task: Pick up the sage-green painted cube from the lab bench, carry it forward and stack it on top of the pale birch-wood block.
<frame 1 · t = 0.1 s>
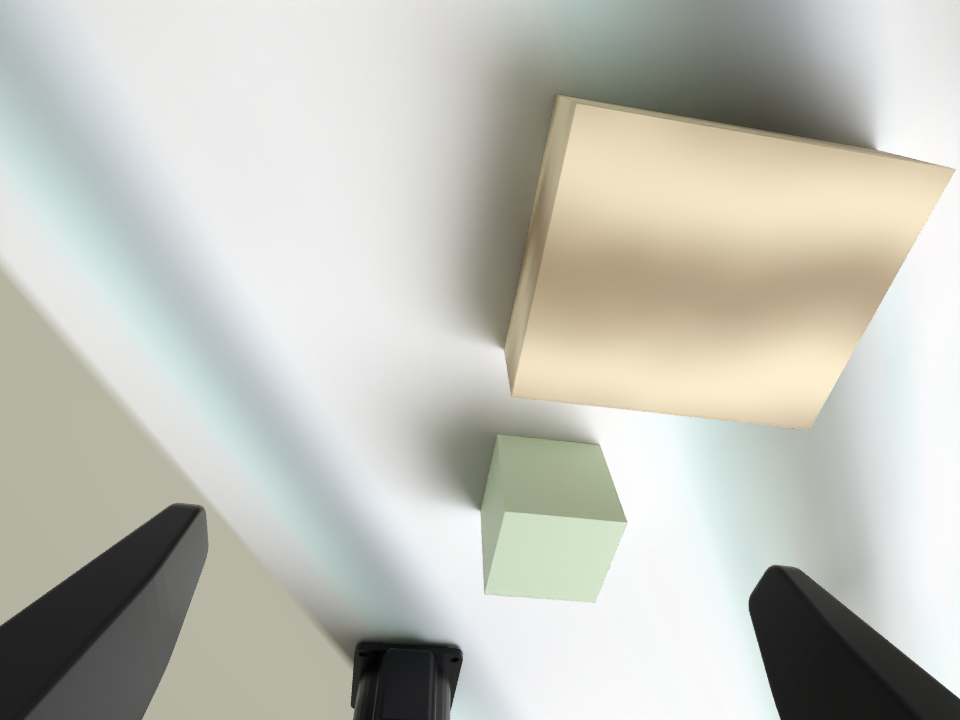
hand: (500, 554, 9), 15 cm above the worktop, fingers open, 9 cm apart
sage cube: (537, 478, 27), on the worktop
birch block: (671, 254, 22), on the worktop
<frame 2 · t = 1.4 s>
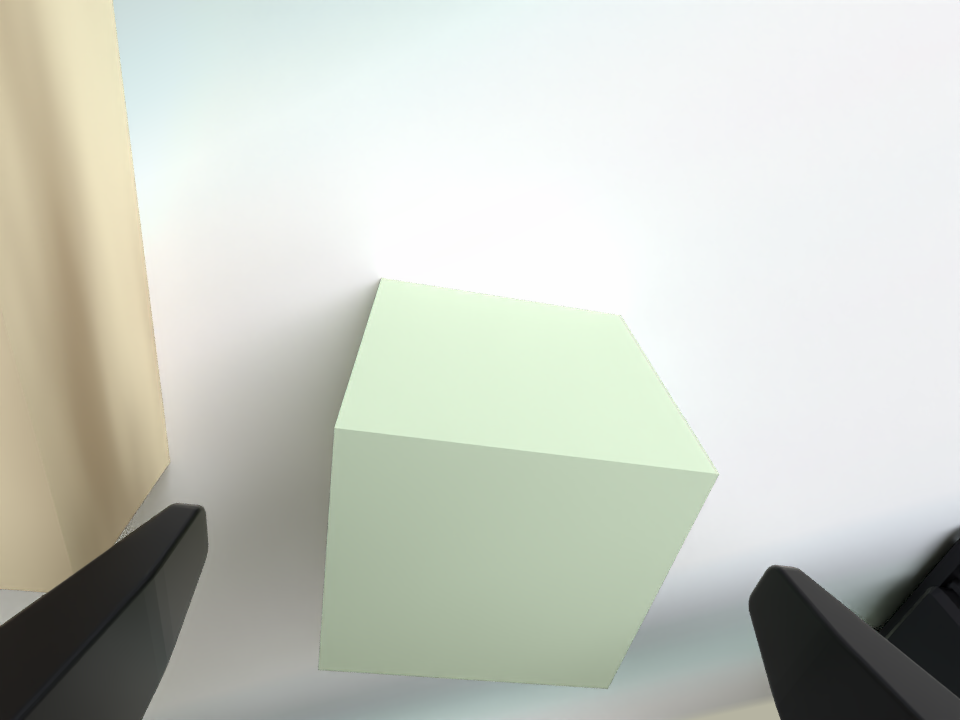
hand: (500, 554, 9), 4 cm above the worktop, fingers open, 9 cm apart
sage cube: (481, 396, 12), on the worktop
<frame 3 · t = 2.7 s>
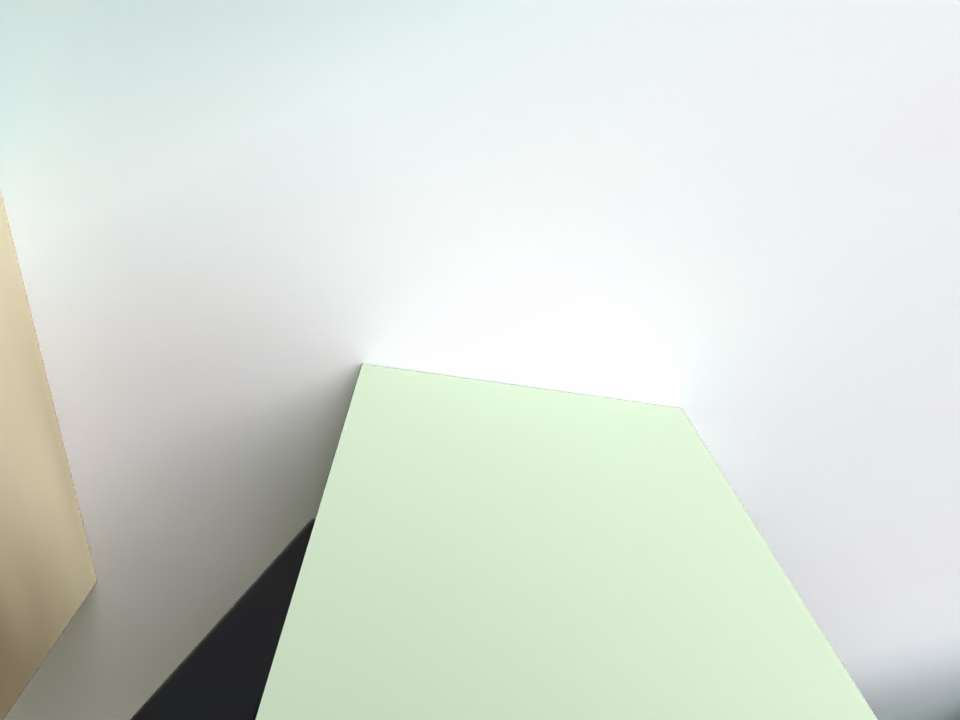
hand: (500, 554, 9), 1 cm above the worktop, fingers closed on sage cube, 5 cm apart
sage cube: (495, 506, 10), on the worktop, touching gripper
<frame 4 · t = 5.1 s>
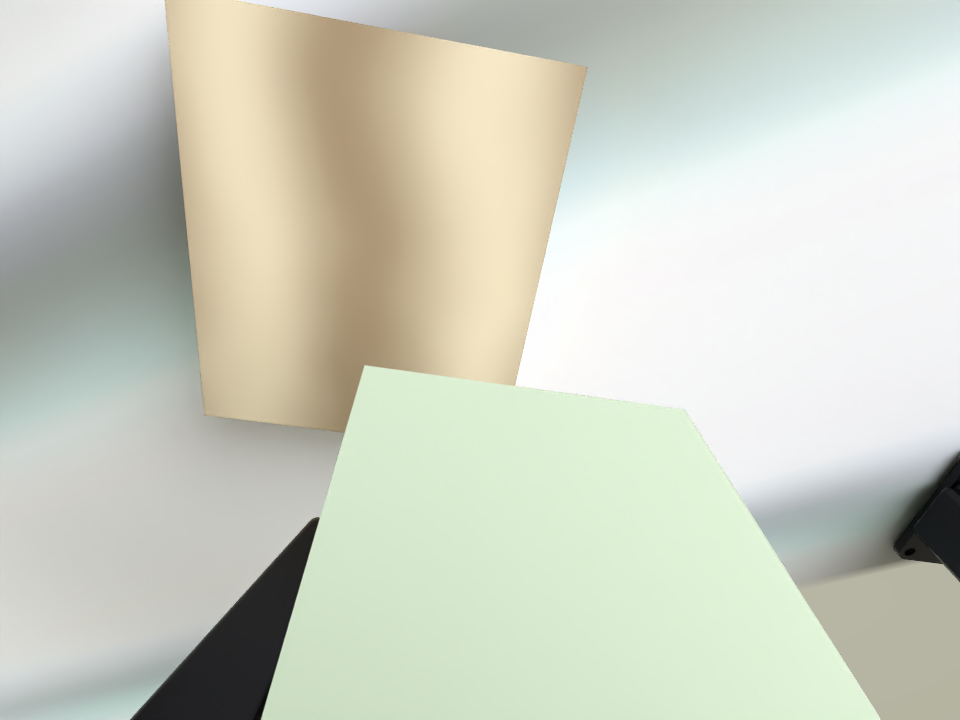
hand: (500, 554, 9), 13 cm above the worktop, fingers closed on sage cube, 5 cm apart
sage cube: (497, 508, 9), point 12 cm above the worktop, touching gripper
birch block: (386, 229, 19), on the worktop
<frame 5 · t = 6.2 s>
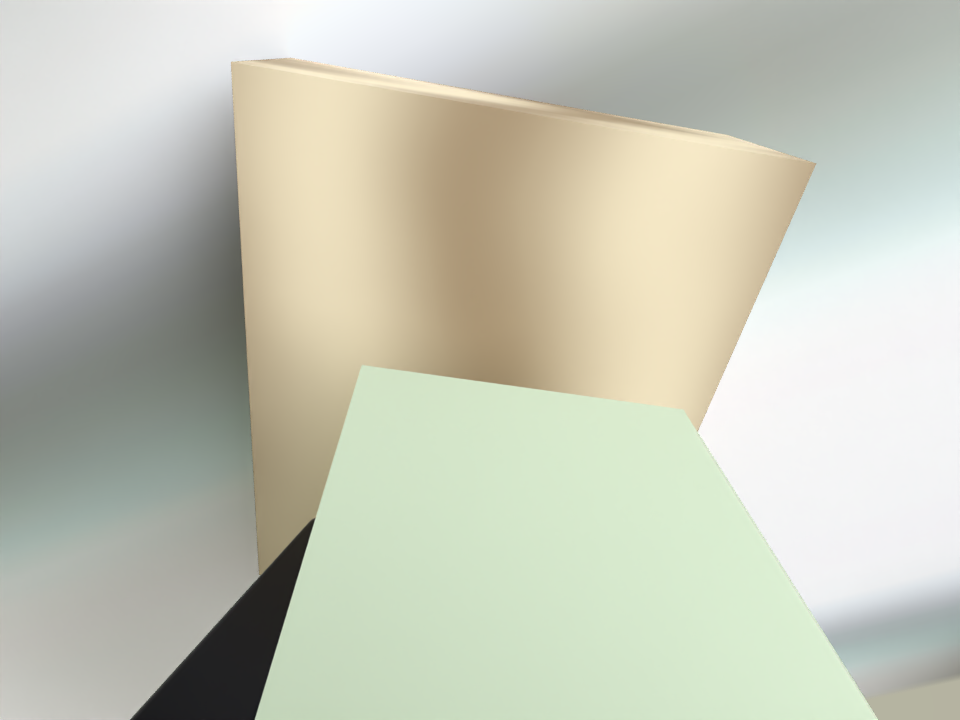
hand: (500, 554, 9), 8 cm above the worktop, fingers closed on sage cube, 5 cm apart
sage cube: (495, 508, 9), point 7 cm above the worktop, touching gripper
birch block: (476, 328, 16), on the worktop
when the fingers open (6 cm above the worktop, at t = 7.3 s): sage cube drops 1 cm, resting on birch block.
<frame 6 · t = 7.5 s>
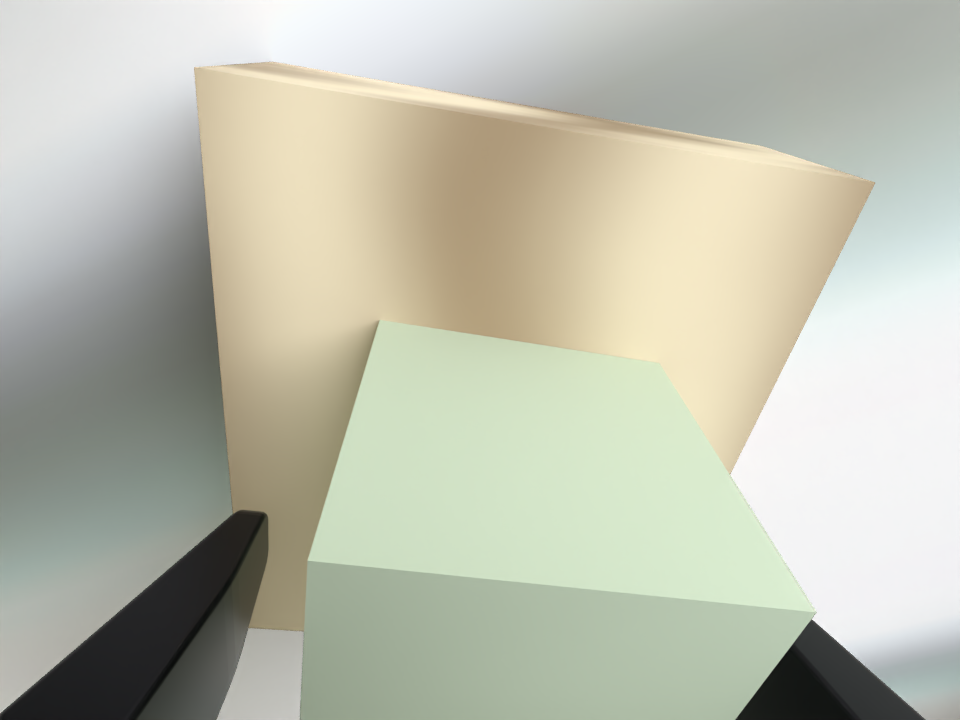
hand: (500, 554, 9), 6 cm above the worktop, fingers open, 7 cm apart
sage cube: (495, 453, 11), point 4 cm above the worktop, touching birch block
birch block: (481, 355, 14), on the worktop, touching sage cube
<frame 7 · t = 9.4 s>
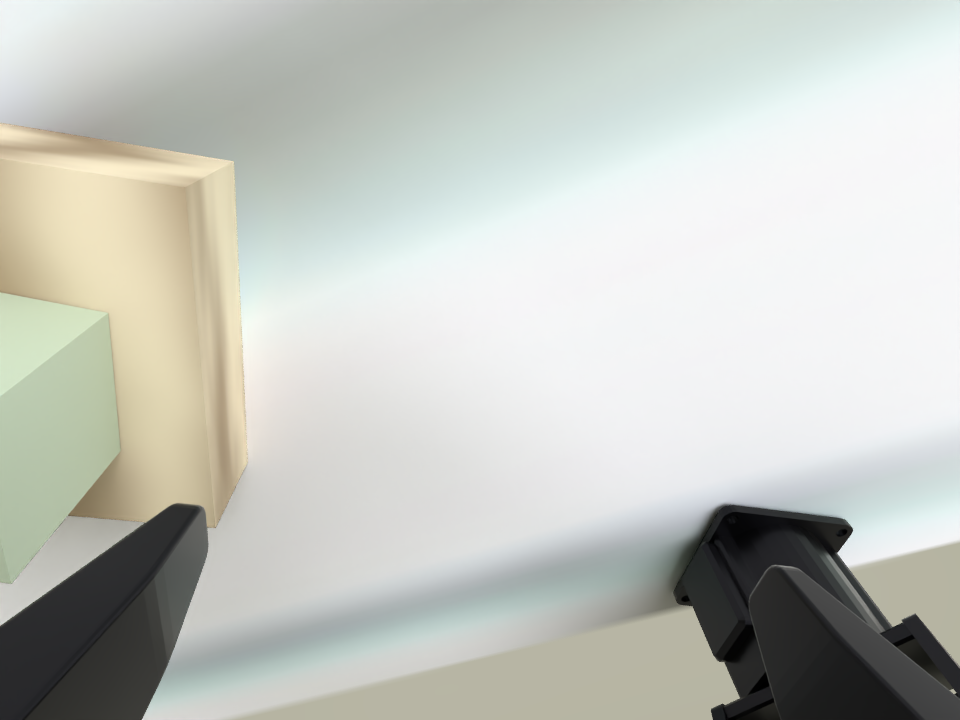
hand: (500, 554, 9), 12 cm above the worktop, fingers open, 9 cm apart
sage cube: (23, 371, 16), point 4 cm above the worktop
birch block: (99, 309, 19), on the worktop
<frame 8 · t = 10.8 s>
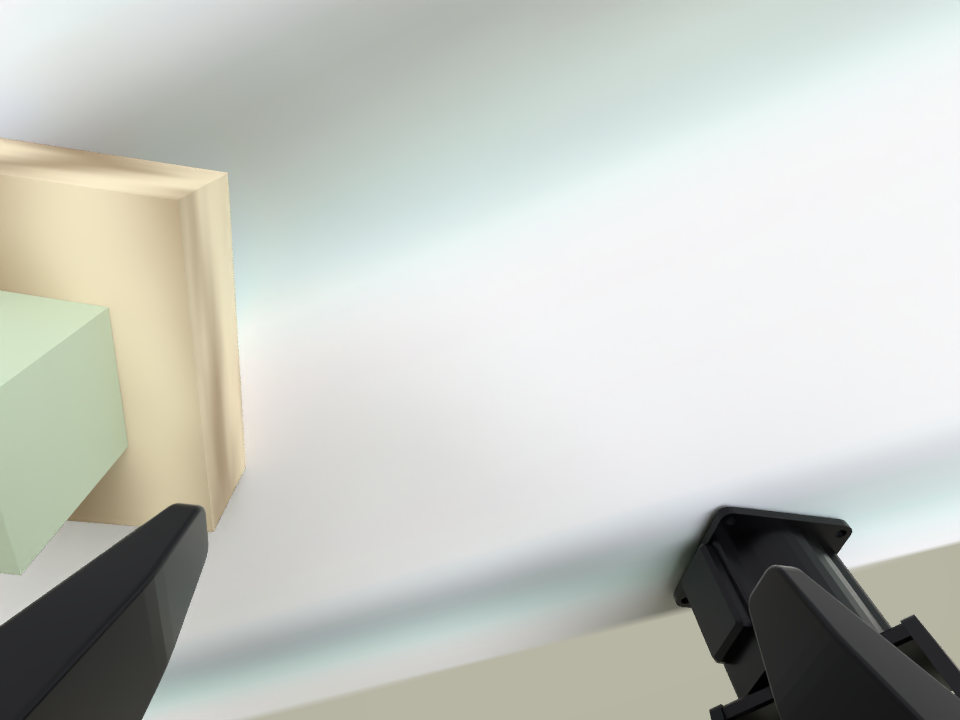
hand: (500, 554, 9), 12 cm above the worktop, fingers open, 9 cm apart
sage cube: (29, 369, 16), point 4 cm above the worktop
birch block: (99, 318, 20), on the worktop
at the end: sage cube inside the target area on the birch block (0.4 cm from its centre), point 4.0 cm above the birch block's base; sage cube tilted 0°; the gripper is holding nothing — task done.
